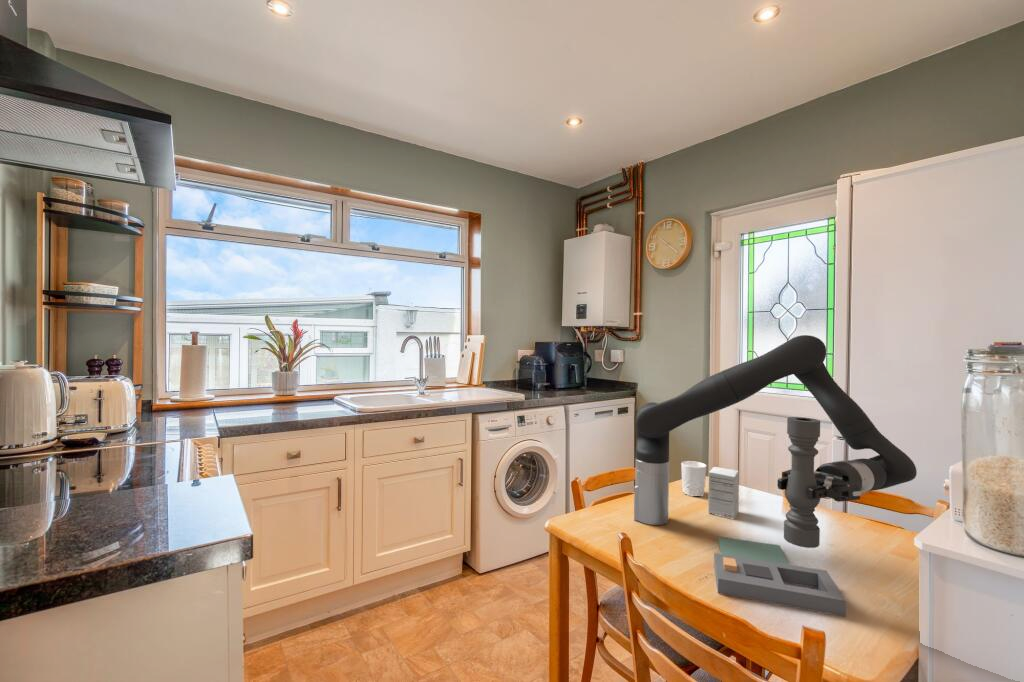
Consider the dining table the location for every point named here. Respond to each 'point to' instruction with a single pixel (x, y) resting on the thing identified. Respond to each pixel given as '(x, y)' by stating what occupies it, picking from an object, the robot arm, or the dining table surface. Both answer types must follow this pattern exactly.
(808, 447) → the candle holder
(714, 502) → the supplement box
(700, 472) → the white cup
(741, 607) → the dining table surface
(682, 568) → the dining table surface
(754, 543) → the mat
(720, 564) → the grey compartment tray
